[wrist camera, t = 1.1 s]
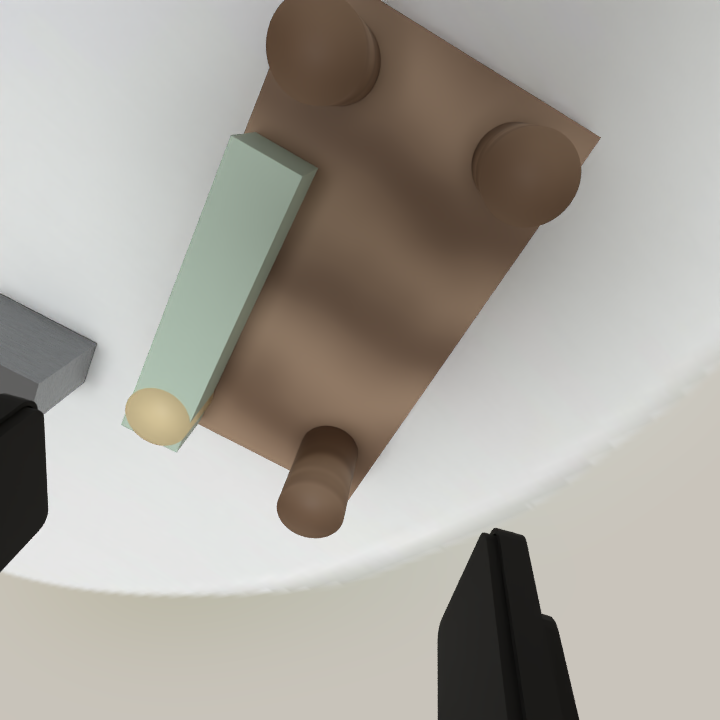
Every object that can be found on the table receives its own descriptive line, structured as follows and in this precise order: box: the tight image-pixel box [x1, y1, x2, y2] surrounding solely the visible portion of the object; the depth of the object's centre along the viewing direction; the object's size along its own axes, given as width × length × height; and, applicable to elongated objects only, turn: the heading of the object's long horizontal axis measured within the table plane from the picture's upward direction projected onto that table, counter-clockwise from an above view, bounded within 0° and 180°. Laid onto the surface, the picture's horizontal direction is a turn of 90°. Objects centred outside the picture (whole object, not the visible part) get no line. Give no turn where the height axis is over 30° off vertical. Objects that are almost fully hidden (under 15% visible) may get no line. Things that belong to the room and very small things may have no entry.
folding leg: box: [121, 132, 318, 452], centre depth 25 cm, size 15×3×3 cm, turn 152°
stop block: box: [0, 294, 97, 414], centre depth 29 cm, size 3×6×5 cm, turn 62°
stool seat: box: [198, 0, 601, 538], centre depth 24 cm, size 22×13×7 cm, turn 152°
